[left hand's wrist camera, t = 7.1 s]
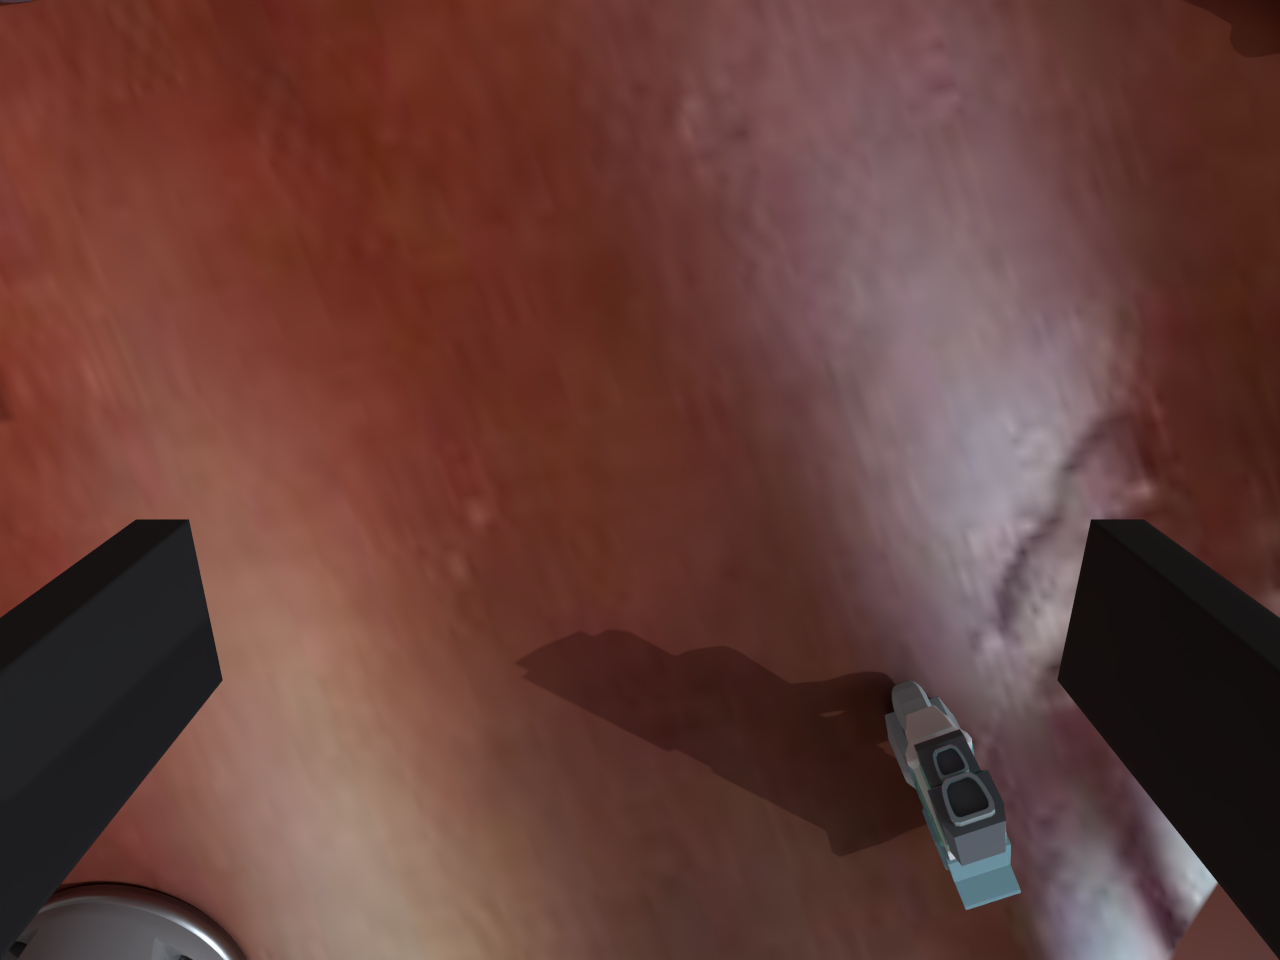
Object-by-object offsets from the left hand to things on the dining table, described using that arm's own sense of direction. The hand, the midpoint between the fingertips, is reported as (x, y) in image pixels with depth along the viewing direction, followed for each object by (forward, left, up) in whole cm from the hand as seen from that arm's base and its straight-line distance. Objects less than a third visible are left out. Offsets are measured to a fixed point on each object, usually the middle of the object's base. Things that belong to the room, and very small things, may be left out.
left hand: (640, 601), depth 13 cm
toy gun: (+24, +16, -28) cm, 40 cm away
